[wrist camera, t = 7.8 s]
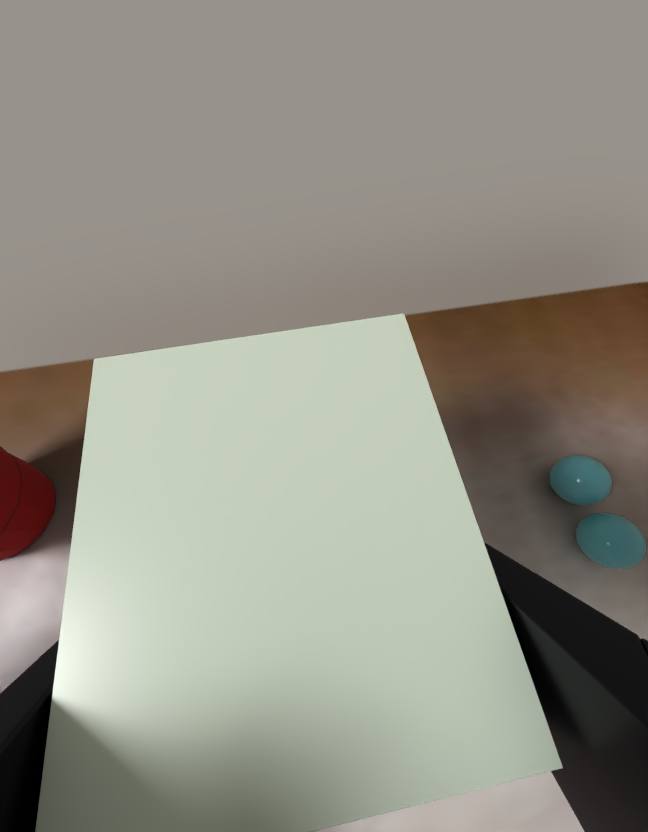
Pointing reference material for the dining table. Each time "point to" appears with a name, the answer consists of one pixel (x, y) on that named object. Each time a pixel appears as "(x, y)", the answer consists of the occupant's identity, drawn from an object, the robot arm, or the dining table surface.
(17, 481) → the plastic cup
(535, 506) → the dining table surface
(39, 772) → the robot arm
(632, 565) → the teal marble
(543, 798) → the dining table surface
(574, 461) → the teal marble
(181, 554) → the sage cover
